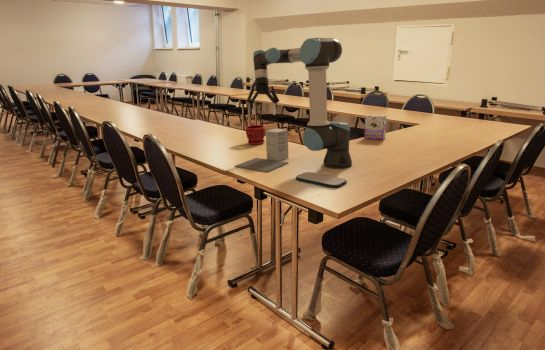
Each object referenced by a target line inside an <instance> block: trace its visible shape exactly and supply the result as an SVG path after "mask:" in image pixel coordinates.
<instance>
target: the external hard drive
mask: <svg viewBox="0 0 545 350" xmlns="http://www.w3.org/2000/svg"><path fill="white" fill-rule="evenodd" d="M295 180H296V181H298V182H301V183H306V184H311V185H315V186H321V187H324V188H328V189H329V188H330V189H340V188H341V187H344V186H345V185H347V182H348V181H347V179H346V178H342V177H339V176H333V175H328V174H321V173H318V172H311V171H306V172H305V171H304V172H302V173H299V174H297V175H296V176H295Z"/></svg>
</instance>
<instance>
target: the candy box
mask: <svg viewBox="0 0 545 350" xmlns="http://www.w3.org/2000/svg"><path fill="white" fill-rule="evenodd" d="M386 130H387V115H381V114H367V115H365V116H364V131H363V132H364V133H363V136H364V137H363V139H365V140H367V139H368V140H379V141H384V140H385V139H386V133H387V132H386Z"/></svg>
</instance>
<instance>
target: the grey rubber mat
mask: <svg viewBox="0 0 545 350" xmlns="http://www.w3.org/2000/svg"><path fill="white" fill-rule="evenodd" d="M288 164H289V162H288V161H283V160H281V161H275V160H269V159H267V158H259V157H254V158H252V159H249V160H247V161H244V162H241V163H238V164H236V165H234V168H240V169H246V170H252V171H256V172H262V171H263V173H270V172H272V171H275V170H277V169H280V168H281V167H284V166H286V165H288Z"/></svg>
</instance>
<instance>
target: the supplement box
mask: <svg viewBox="0 0 545 350" xmlns="http://www.w3.org/2000/svg"><path fill="white" fill-rule="evenodd" d="M288 131H289V130H288V129H284V128H273V129H268V130H265V144H266V147H265V148H266V149H265V150H266V159H268V160H275V161H283V160H288V159H289V132H288Z"/></svg>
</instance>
